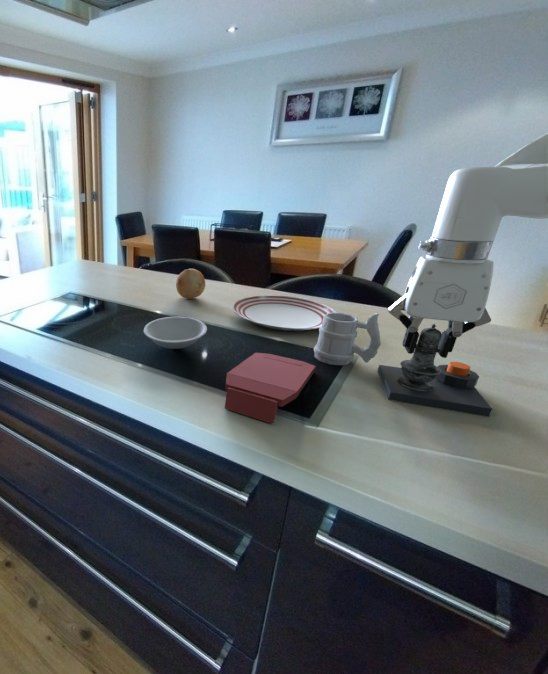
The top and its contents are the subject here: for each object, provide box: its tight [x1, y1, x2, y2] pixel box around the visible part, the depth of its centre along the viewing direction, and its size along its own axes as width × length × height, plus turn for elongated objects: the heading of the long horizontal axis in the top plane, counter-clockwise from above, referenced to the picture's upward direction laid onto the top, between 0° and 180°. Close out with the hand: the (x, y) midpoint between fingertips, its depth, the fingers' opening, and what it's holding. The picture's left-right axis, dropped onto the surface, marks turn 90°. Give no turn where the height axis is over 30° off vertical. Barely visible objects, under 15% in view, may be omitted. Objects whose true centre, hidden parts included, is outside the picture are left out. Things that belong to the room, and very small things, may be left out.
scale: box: [376, 364, 493, 418], centre depth 72 cm, size 14×12×4 cm
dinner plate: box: [231, 294, 338, 332], centre depth 110 cm, size 28×27×3 cm
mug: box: [313, 312, 382, 366], centre depth 83 cm, size 8×12×12 cm, turn 47°
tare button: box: [446, 361, 471, 376], centre depth 72 cm, size 3×3×2 cm
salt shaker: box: [397, 323, 442, 391], centre depth 70 cm, size 6×6×12 cm
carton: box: [224, 352, 316, 424], centre depth 76 cm, size 12×5×25 cm
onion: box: [175, 268, 206, 300], centre depth 131 cm, size 10×10×10 cm
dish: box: [143, 316, 208, 350], centre depth 94 cm, size 18×14×5 cm
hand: (424, 351), depth 70 cm, fingers open, 4 cm apart
